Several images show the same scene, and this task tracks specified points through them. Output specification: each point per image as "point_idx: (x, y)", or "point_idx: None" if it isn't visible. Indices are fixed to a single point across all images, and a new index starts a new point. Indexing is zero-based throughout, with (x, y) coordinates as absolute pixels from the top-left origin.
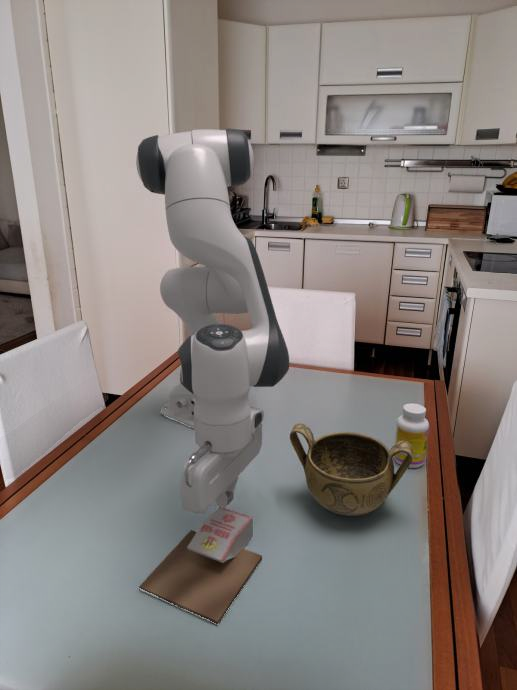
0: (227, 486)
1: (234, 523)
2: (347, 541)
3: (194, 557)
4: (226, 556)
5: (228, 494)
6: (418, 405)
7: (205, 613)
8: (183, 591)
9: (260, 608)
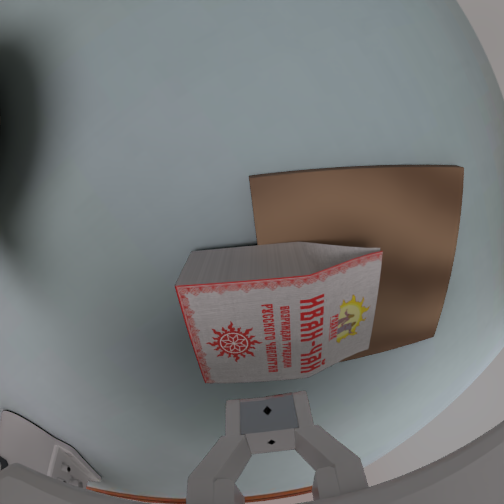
0: (366, 500)
1: (245, 318)
2: (59, 39)
3: None
4: (346, 256)
5: (268, 435)
6: None
7: (458, 200)
8: (429, 272)
9: (391, 98)
